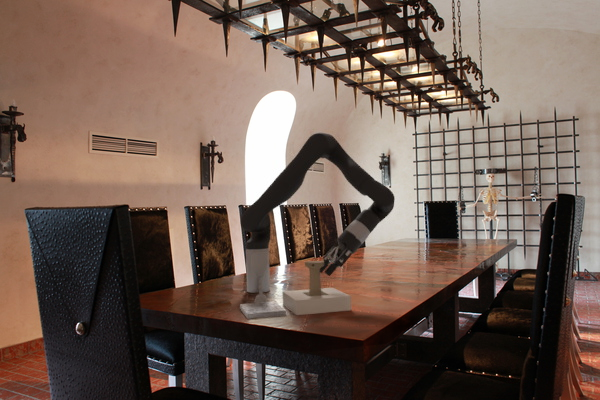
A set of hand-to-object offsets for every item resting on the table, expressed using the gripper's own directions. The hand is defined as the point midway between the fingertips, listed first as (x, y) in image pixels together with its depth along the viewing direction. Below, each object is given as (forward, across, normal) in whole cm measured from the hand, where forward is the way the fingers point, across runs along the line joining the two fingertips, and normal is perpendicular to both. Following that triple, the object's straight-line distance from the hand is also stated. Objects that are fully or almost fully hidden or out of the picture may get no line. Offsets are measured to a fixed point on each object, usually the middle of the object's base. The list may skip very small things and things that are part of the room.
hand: (322, 272), depth 160 cm
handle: (+10, 0, +6) cm, 12 cm away
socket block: (+10, 0, +6) cm, 12 cm away
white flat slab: (+23, 0, -7) cm, 24 cm away
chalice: (+21, -18, -4) cm, 28 cm away
